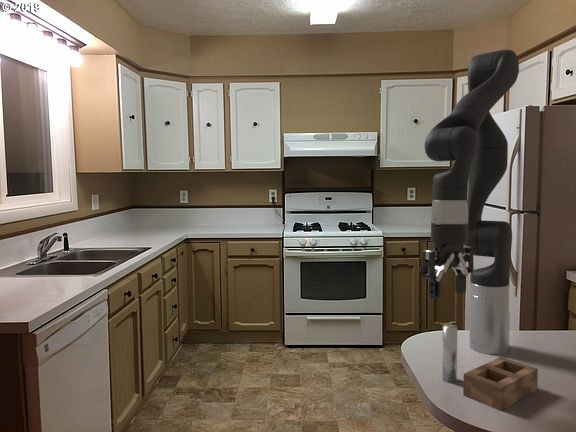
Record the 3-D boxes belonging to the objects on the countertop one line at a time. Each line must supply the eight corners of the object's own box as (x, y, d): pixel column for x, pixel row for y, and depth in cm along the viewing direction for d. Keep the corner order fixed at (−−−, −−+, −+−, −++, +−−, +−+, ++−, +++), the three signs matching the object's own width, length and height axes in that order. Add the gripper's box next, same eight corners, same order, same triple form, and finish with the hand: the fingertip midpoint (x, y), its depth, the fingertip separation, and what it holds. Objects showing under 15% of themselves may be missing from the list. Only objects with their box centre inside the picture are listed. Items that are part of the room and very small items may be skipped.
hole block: (500, 376, 101) (500, 356, 101) (537, 389, 95) (537, 368, 94) (463, 395, 93) (463, 373, 93) (501, 410, 87) (501, 387, 86)
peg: (447, 375, 102) (448, 323, 101) (459, 380, 100) (460, 326, 99) (439, 379, 101) (439, 326, 100) (451, 383, 98) (451, 329, 97)
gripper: (455, 219, 105) (454, 288, 106) (413, 221, 97) (411, 296, 98) (485, 220, 99) (483, 294, 100) (441, 223, 91) (440, 303, 92)
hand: (447, 295), depth 99 cm, fingers open, 8 cm apart
